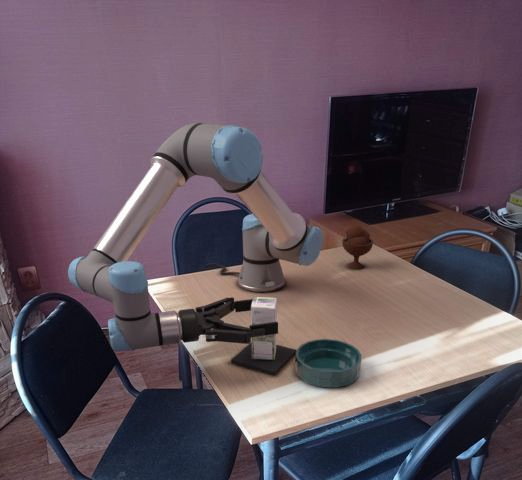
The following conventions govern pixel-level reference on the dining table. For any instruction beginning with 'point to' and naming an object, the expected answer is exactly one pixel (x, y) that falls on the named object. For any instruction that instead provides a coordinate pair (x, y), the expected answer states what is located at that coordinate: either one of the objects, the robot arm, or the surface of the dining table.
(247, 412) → the dining table surface
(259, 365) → the mat
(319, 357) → the bowl
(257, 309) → the syrup box
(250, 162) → the robot arm
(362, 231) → the ice cream bowl
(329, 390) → the dining table surface
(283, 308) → the dining table surface
